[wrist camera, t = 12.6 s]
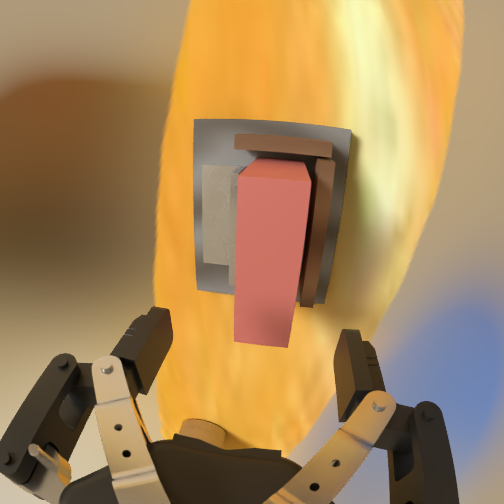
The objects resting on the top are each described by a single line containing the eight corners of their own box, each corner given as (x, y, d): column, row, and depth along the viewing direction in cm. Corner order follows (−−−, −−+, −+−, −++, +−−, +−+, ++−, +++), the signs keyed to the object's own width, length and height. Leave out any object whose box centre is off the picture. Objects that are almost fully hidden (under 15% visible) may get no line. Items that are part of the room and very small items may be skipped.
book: (303, 160, 24) (311, 182, 15) (290, 279, 29) (287, 347, 20) (258, 156, 24) (237, 175, 15) (251, 275, 29) (233, 341, 20)
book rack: (323, 296, 31) (327, 327, 26) (200, 282, 32) (185, 311, 28) (348, 129, 23) (362, 130, 18) (199, 119, 25) (177, 118, 20)
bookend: (242, 265, 29) (235, 285, 25) (204, 260, 29) (192, 280, 26) (246, 166, 25) (238, 173, 21) (203, 164, 25) (188, 171, 22)
